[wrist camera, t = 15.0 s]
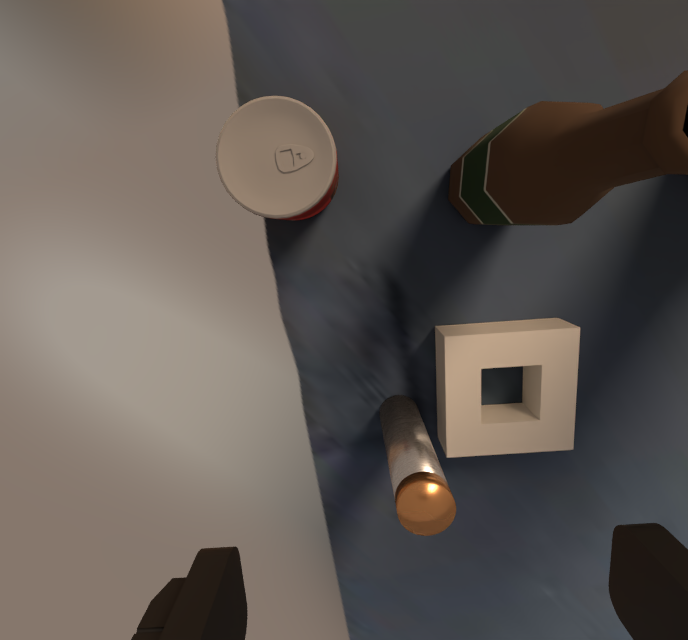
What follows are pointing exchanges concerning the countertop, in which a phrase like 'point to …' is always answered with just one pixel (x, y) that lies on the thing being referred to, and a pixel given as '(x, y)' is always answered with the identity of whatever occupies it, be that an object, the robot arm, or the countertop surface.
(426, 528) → the plug
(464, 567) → the countertop surface
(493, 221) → the beer bottle
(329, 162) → the canned food
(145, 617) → the robot arm
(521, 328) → the socket block
